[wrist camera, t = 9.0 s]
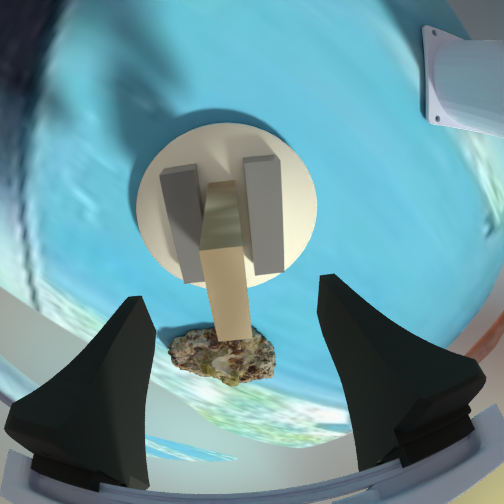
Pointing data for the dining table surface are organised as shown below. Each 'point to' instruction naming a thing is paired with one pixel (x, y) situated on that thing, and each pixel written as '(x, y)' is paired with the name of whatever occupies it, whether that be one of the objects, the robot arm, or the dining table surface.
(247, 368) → the mineral rock
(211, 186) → the wooden block
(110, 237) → the dining table surface
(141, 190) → the clip base
